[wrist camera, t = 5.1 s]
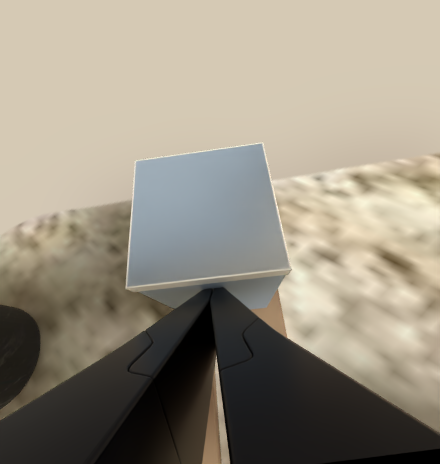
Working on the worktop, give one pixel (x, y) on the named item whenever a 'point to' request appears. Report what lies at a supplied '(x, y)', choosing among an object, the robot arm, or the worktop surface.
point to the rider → (206, 227)
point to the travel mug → (16, 351)
